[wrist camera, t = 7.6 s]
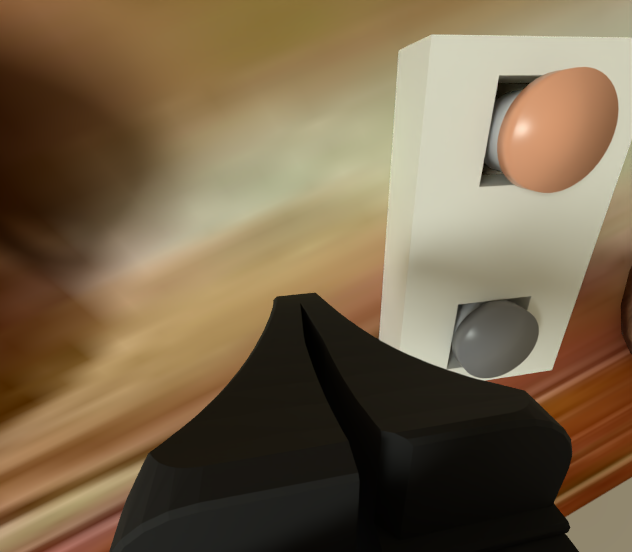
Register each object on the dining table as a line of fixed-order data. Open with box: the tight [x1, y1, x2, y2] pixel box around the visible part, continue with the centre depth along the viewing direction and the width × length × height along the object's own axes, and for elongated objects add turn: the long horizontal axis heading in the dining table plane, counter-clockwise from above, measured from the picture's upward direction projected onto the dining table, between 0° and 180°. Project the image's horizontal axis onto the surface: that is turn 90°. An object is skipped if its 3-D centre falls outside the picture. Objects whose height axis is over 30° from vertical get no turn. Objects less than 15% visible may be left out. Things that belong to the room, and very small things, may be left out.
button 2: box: [484, 67, 619, 193], centre depth 17 cm, size 5×5×4 cm
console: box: [379, 35, 632, 381], centre depth 21 cm, size 20×12×4 cm, turn 1°
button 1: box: [452, 300, 539, 378], centre depth 22 cm, size 5×5×4 cm
